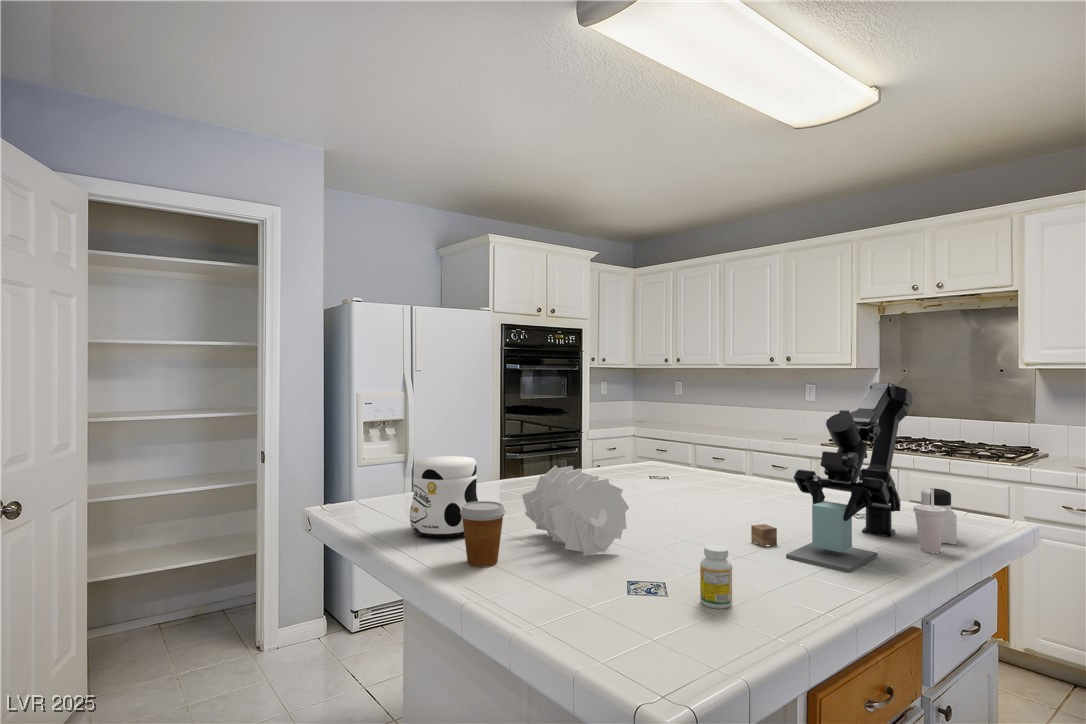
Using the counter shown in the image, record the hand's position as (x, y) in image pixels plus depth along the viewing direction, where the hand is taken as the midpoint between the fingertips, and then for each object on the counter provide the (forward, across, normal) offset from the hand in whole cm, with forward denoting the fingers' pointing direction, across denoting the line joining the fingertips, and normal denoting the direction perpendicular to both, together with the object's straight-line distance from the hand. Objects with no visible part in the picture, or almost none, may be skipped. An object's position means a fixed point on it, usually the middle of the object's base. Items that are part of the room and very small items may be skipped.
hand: (829, 517), depth 130 cm
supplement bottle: (+35, -3, -22) cm, 42 cm away
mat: (+5, 0, +7) cm, 9 cm away
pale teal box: (+4, 0, +6) cm, 7 cm away
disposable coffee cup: (+46, -48, -34) cm, 75 cm away
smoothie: (-9, +13, +22) cm, 27 cm away
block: (+6, -15, +6) cm, 17 cm away
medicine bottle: (-18, +12, +31) cm, 37 cm away
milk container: (+41, -74, -29) cm, 89 cm away
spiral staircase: (+30, -45, -17) cm, 56 cm away
